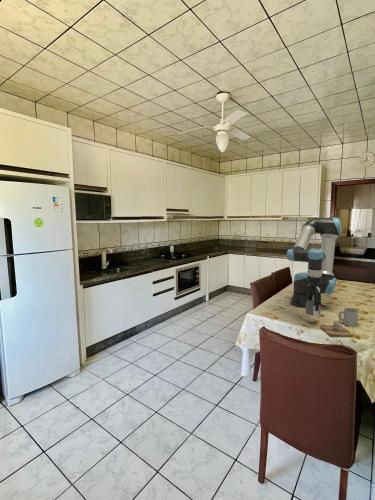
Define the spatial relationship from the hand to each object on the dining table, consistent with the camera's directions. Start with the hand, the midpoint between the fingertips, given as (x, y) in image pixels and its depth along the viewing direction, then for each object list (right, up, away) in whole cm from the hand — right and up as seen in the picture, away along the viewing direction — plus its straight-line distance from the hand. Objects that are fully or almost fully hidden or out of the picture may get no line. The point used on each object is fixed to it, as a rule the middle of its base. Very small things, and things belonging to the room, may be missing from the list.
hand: (312, 312), depth 156 cm
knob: (0, 0, 0) cm, 0 cm away
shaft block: (+7, -8, -12) cm, 16 cm away
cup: (+20, -7, -1) cm, 21 cm away
